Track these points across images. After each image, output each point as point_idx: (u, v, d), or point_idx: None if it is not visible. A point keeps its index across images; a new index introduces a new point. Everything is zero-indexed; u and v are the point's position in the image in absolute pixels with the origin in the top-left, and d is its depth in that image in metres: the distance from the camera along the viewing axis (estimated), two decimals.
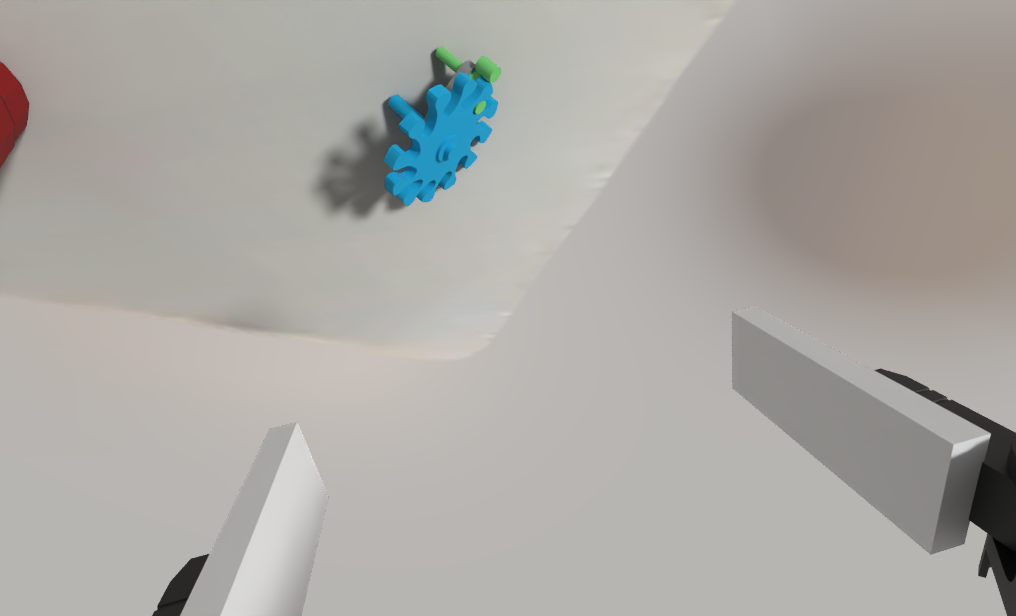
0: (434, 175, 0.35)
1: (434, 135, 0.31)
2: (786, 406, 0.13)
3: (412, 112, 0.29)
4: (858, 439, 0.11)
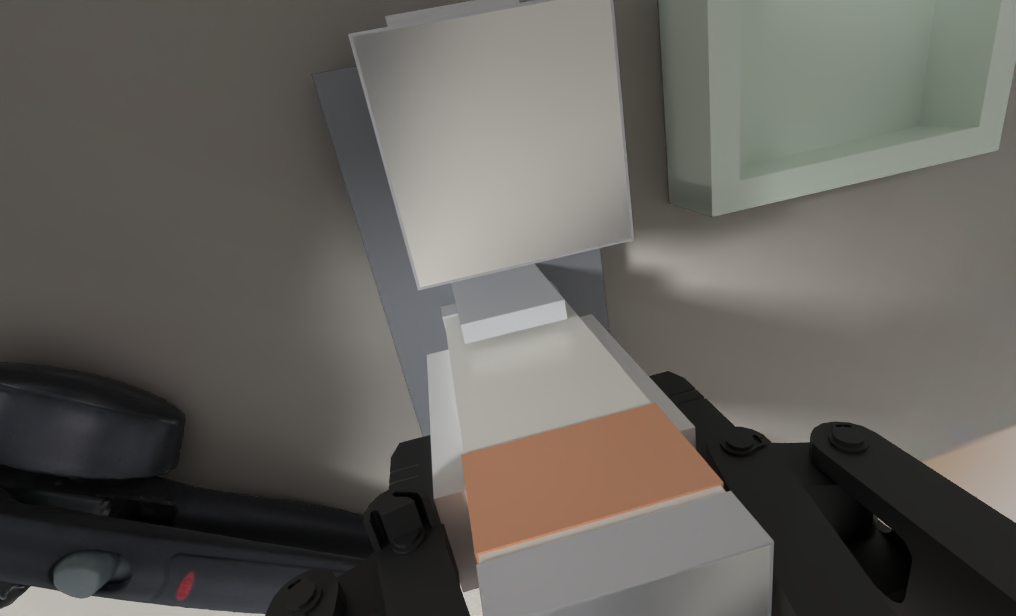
0: None
1: None
2: None
3: None
4: None
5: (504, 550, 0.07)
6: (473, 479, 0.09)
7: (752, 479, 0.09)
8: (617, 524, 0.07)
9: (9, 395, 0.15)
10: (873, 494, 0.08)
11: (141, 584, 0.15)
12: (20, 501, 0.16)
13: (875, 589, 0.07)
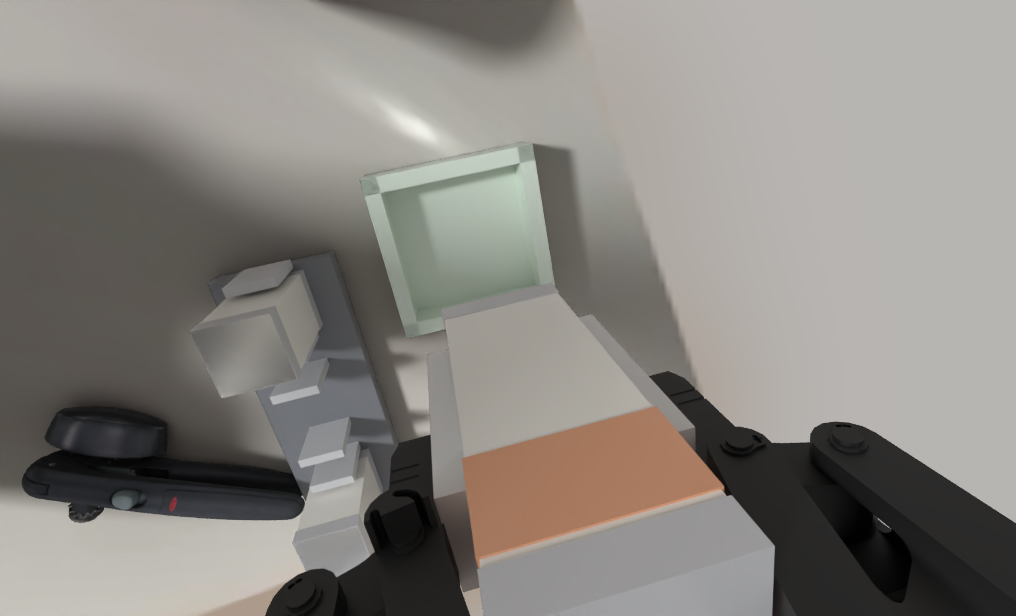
0: None
1: None
2: None
3: None
4: None
5: (505, 554, 0.07)
6: (474, 483, 0.09)
7: (752, 479, 0.09)
8: (619, 528, 0.07)
9: (82, 422, 0.33)
10: (873, 494, 0.08)
11: (151, 503, 0.33)
12: None
13: (875, 589, 0.07)
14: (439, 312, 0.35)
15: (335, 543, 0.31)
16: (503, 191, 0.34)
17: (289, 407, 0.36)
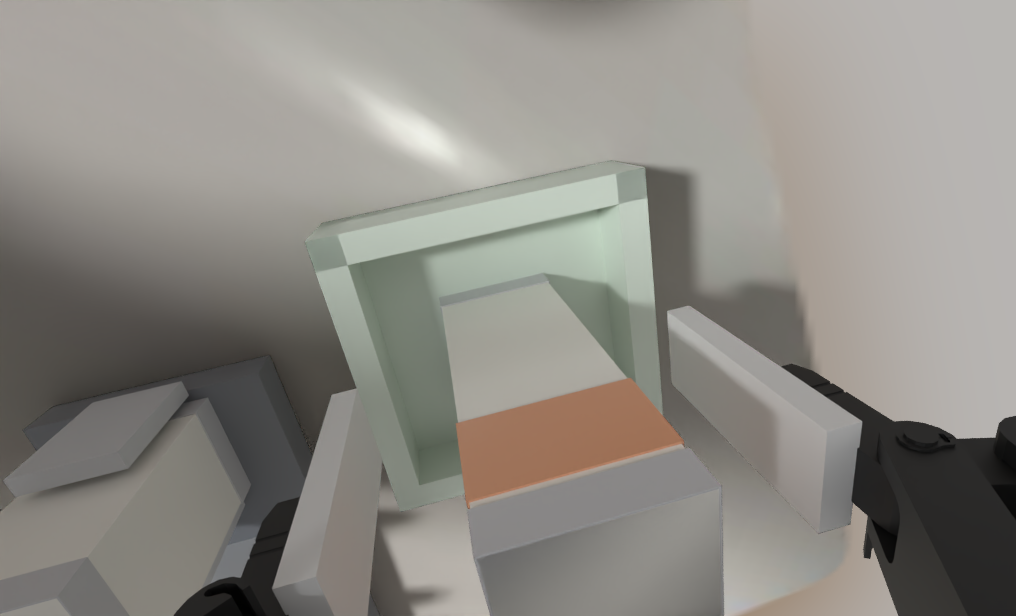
0: None
1: None
2: (710, 399, 0.14)
3: None
4: (762, 429, 0.12)
5: (491, 498, 0.09)
6: (466, 443, 0.10)
7: (931, 476, 0.08)
8: (590, 475, 0.09)
9: None
10: None
11: None
12: None
13: None
14: (458, 460, 0.20)
15: None
16: (575, 249, 0.19)
17: None
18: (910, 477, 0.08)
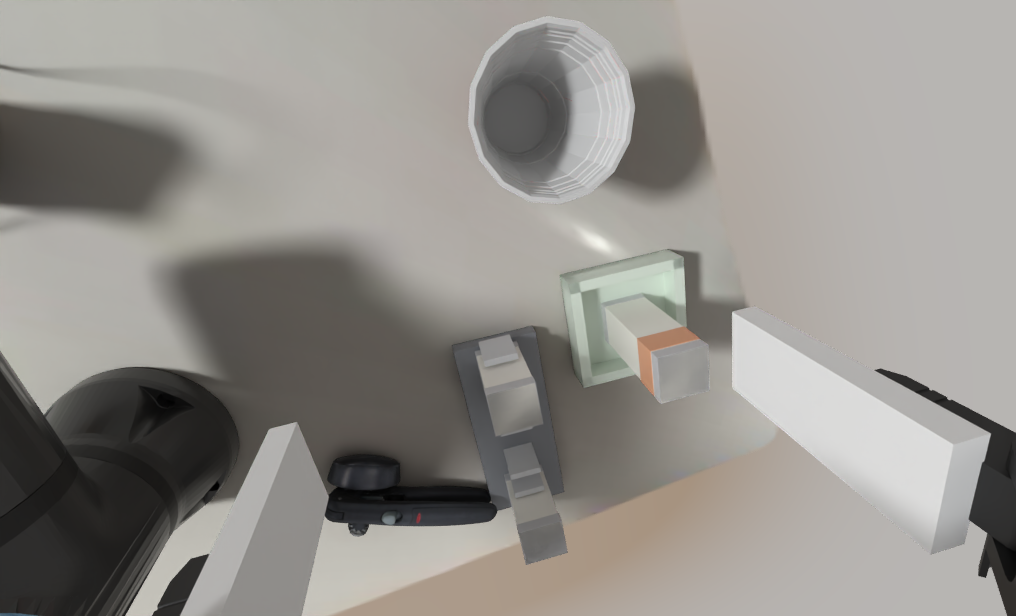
0: None
1: None
2: (786, 406, 0.13)
3: None
4: (858, 439, 0.11)
5: (655, 350, 0.37)
6: (642, 341, 0.39)
7: None
8: (678, 345, 0.37)
9: (352, 467, 0.47)
10: None
11: (406, 519, 0.47)
12: None
13: None
14: (604, 368, 0.48)
15: (545, 533, 0.45)
16: (653, 283, 0.48)
17: (492, 435, 0.50)
18: None
